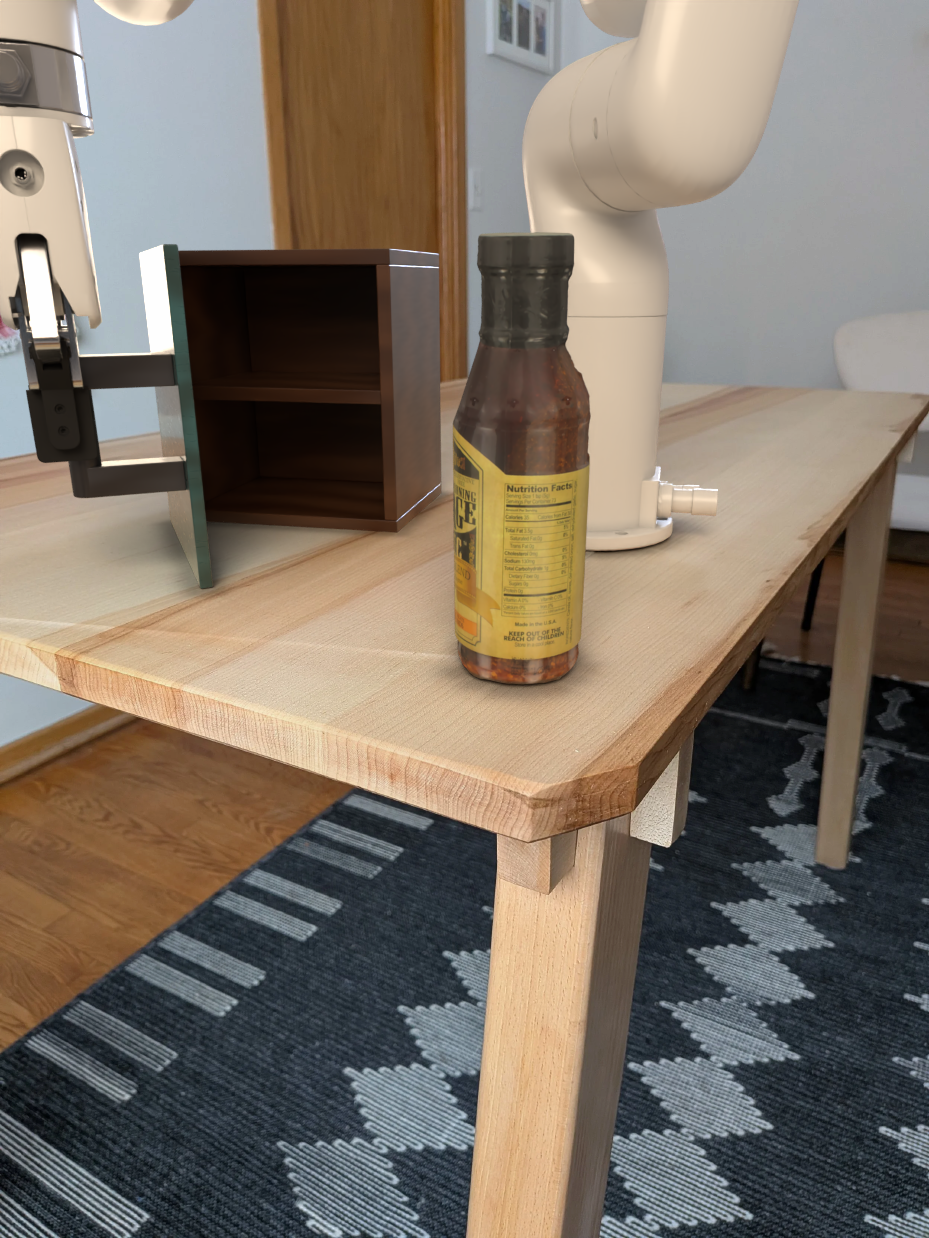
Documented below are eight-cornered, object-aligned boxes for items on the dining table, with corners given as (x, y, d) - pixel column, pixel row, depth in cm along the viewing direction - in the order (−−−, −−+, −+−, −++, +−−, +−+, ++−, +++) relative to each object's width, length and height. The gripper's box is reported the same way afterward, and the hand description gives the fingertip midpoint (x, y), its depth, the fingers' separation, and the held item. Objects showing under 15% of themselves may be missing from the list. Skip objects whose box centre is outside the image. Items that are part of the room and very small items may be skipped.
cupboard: (397, 533, 69) (389, 248, 62) (180, 521, 73) (149, 250, 66) (441, 493, 82) (439, 253, 75) (255, 485, 85) (236, 255, 78)
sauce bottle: (465, 638, 49) (464, 236, 42) (583, 645, 48) (602, 235, 41) (443, 690, 43) (437, 229, 36) (577, 699, 42) (598, 227, 35)
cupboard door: (89, 602, 54) (33, 242, 47) (83, 530, 70) (40, 251, 63) (213, 587, 56) (177, 244, 50) (181, 521, 72) (150, 252, 65)
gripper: (92, 73, 41) (145, 477, 48) (88, 125, 55) (130, 432, 61) (-97, 60, 39) (-15, 489, 45) (-51, 118, 52) (7, 440, 59)
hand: (68, 454), depth 53 cm, fingers closed on cupboard door, 2 cm apart
